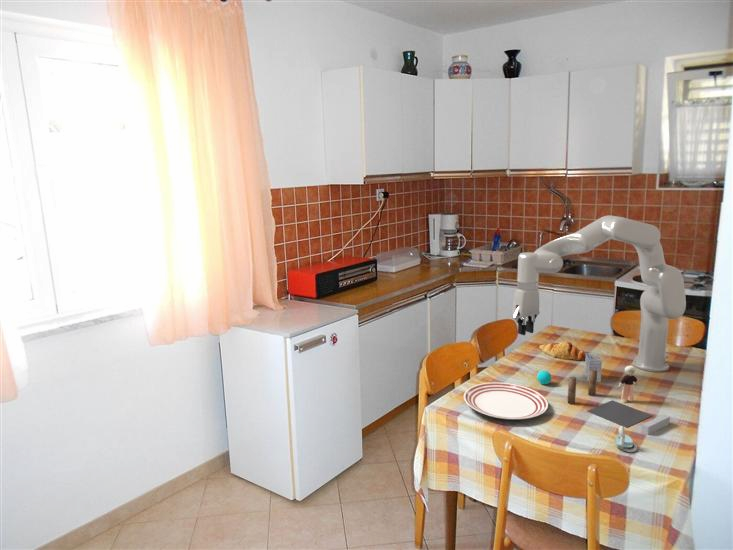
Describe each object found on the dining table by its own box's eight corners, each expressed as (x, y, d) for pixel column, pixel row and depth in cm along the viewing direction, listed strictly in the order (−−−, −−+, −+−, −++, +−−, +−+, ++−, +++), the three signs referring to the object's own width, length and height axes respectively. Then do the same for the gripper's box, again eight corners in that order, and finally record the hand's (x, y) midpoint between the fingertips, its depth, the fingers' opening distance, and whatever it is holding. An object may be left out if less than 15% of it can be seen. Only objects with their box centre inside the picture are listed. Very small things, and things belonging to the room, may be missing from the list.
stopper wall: (663, 421, 171) (663, 414, 171) (669, 423, 170) (670, 416, 169) (641, 432, 165) (642, 424, 164) (647, 434, 163) (648, 427, 163)
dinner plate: (562, 406, 183) (563, 397, 183) (520, 435, 165) (520, 425, 164) (492, 384, 203) (492, 375, 202) (447, 407, 184) (447, 398, 183)
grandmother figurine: (625, 405, 183) (628, 369, 180) (615, 401, 186) (618, 365, 184) (640, 400, 186) (643, 365, 184) (630, 396, 190) (633, 361, 187)
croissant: (536, 360, 236) (532, 346, 232) (545, 344, 241) (542, 331, 237) (585, 370, 222) (583, 356, 218) (594, 353, 228) (591, 339, 224)
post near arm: (590, 392, 193) (592, 368, 191) (596, 395, 191) (598, 370, 189) (586, 394, 192) (588, 370, 190) (592, 396, 190) (594, 372, 188)
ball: (542, 380, 205) (543, 367, 204) (553, 384, 201) (554, 371, 200) (533, 383, 202) (534, 370, 201) (544, 387, 198) (545, 374, 197)
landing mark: (612, 400, 186) (612, 400, 186) (652, 415, 175) (652, 415, 175) (586, 411, 179) (586, 410, 179) (626, 427, 168) (627, 427, 167)
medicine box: (600, 382, 202) (602, 360, 200) (588, 382, 203) (589, 359, 201) (596, 374, 209) (597, 353, 208) (584, 374, 210) (585, 352, 209)
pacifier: (637, 444, 158) (615, 439, 161) (640, 424, 157) (617, 419, 160) (636, 456, 152) (613, 450, 155) (639, 435, 151) (615, 430, 154)
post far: (570, 400, 187) (571, 376, 185) (576, 403, 185) (578, 378, 183) (565, 402, 186) (567, 377, 184) (571, 404, 184) (573, 379, 182)
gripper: (534, 281, 210) (532, 327, 214) (504, 287, 201) (502, 334, 205) (550, 284, 204) (548, 331, 207) (520, 290, 195) (518, 339, 199)
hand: (525, 332), depth 206 cm, fingers open, 3 cm apart
